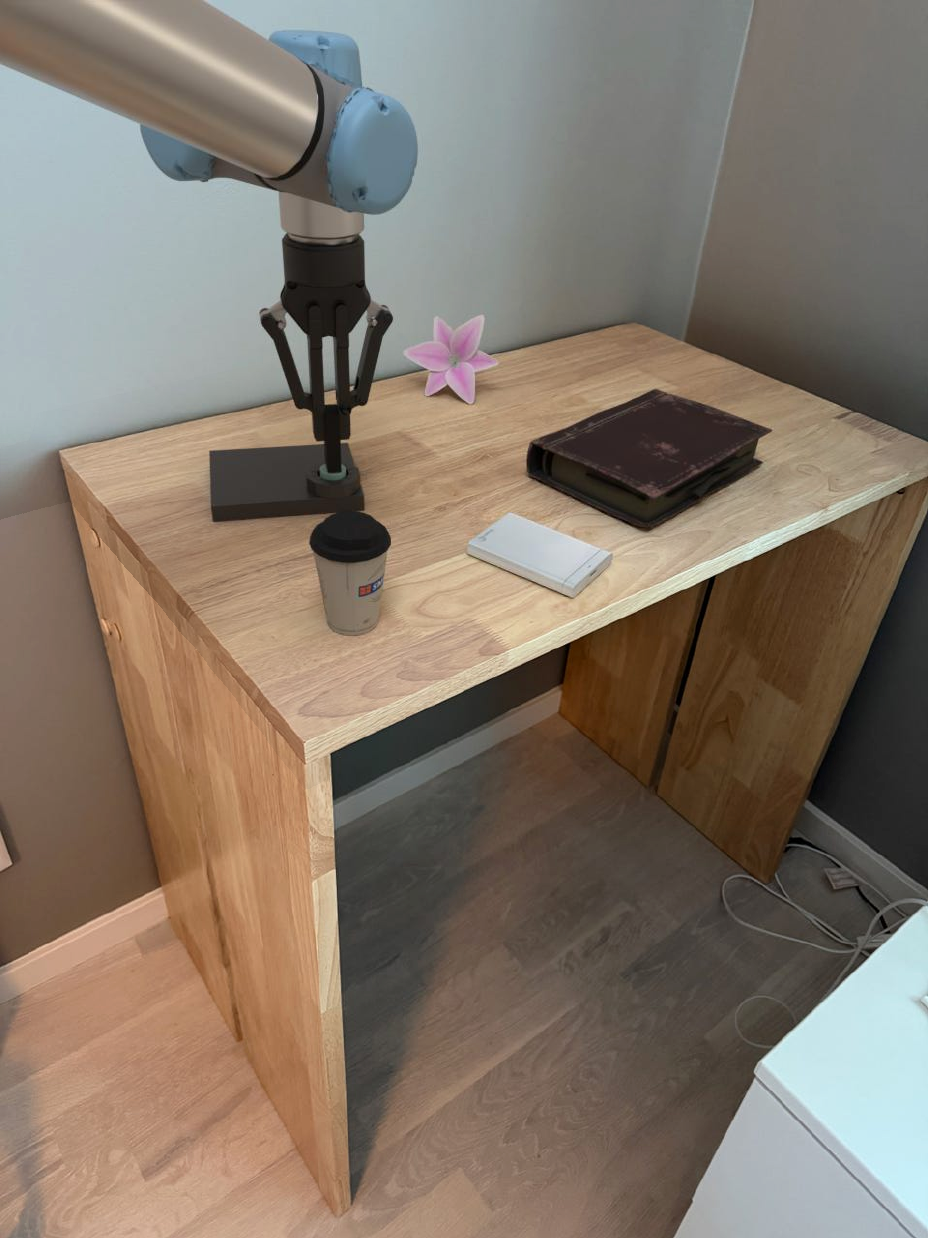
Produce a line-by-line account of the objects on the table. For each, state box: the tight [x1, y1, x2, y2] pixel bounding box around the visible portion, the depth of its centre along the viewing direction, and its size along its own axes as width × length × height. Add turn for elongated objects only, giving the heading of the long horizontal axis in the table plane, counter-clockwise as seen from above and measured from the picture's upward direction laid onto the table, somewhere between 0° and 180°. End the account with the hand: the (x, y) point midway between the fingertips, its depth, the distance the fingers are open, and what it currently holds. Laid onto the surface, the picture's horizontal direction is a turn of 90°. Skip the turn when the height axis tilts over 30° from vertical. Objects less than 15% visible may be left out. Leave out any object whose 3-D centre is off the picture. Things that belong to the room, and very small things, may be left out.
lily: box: [402, 314, 500, 405], centre depth 122 cm, size 12×12×10 cm
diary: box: [525, 388, 773, 528], centre depth 105 cm, size 19×25×5 cm
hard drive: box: [466, 512, 614, 599], centre depth 89 cm, size 2×8×12 cm
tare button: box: [320, 464, 346, 480], centre depth 95 cm, size 3×3×2 cm
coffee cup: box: [308, 511, 392, 636], centre depth 77 cm, size 7×7×10 cm
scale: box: [208, 442, 365, 522], centre depth 98 cm, size 16×13×4 cm
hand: (333, 466), depth 95 cm, fingers closed
